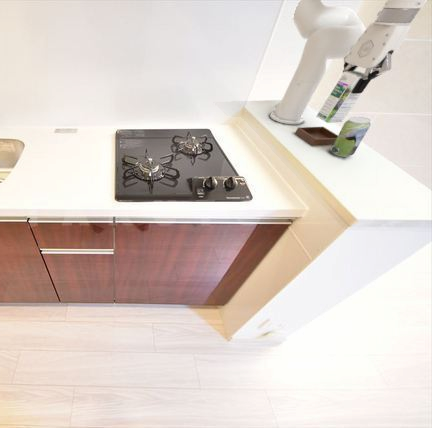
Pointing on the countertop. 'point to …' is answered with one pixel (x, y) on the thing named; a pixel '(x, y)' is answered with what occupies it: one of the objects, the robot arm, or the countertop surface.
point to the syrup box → (341, 98)
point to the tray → (316, 135)
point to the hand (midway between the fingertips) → (348, 89)
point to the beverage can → (350, 136)
